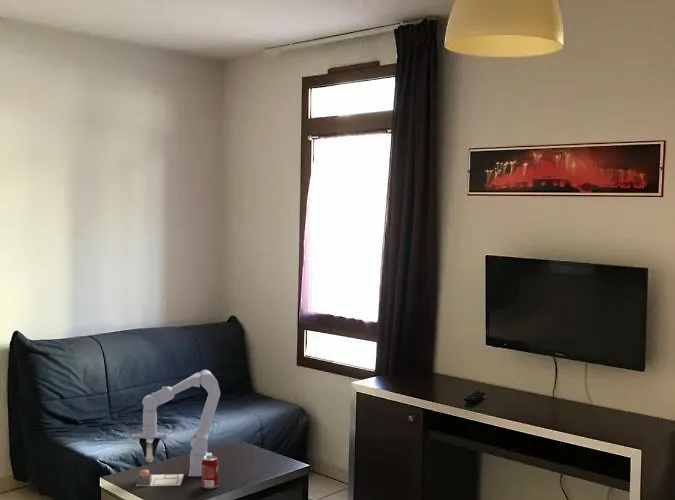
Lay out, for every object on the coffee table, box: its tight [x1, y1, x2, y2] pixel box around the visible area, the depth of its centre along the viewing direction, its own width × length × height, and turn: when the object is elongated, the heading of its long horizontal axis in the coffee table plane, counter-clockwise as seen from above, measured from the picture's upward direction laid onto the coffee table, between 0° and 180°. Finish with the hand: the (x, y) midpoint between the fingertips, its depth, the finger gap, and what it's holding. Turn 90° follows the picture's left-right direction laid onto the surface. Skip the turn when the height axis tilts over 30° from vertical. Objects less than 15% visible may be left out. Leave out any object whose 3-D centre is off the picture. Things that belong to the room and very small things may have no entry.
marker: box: [145, 441, 154, 463], centre depth 320 cm, size 3×3×8 cm
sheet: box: [135, 473, 185, 487], centre depth 318 cm, size 18×13×1 cm
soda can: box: [201, 455, 219, 490], centre depth 312 cm, size 7×7×12 cm
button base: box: [136, 473, 153, 485], centre depth 314 cm, size 5×5×3 cm
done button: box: [139, 469, 150, 478], centre depth 314 cm, size 4×4×4 cm
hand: (149, 456), depth 320 cm, fingers closed on marker, 3 cm apart
